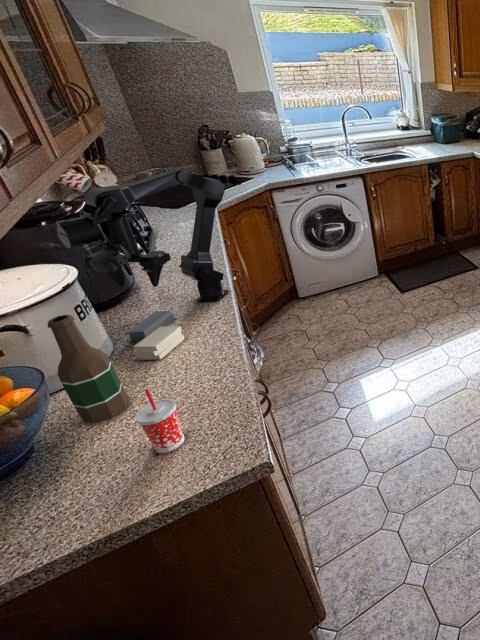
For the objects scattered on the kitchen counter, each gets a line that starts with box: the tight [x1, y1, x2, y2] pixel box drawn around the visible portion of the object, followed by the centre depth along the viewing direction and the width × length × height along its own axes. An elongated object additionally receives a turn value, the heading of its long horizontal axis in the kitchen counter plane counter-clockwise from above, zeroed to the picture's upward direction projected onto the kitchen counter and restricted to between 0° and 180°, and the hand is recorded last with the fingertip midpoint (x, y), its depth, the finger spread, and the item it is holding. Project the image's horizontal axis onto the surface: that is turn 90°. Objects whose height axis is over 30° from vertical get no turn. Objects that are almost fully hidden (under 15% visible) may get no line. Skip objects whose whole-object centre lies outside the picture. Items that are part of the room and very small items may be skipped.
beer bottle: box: [47, 314, 129, 424], centre depth 85 cm, size 8×8×24 cm
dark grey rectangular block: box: [127, 310, 175, 342], centre depth 117 cm, size 11×4×3 cm, turn 2°
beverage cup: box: [134, 388, 186, 454], centre depth 80 cm, size 6×6×14 cm
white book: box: [133, 325, 183, 351], centre depth 109 cm, size 9×6×1 cm, turn 2°
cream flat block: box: [132, 331, 185, 361], centre depth 109 cm, size 10×6×3 cm, turn 2°
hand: (139, 286), depth 116 cm, fingers open, 9 cm apart
